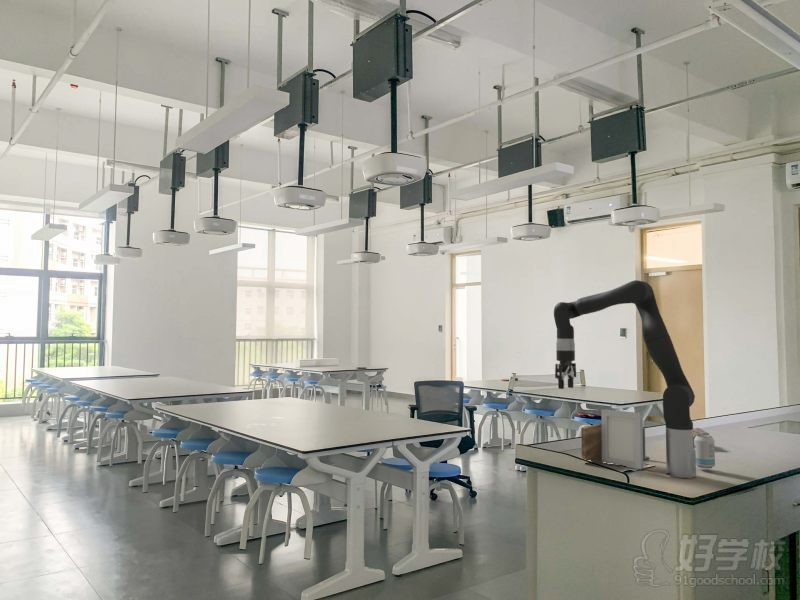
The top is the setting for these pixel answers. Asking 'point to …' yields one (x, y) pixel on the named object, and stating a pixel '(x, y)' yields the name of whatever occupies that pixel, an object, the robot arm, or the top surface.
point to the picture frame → (622, 438)
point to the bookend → (644, 445)
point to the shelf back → (592, 442)
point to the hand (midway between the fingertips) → (566, 388)
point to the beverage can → (704, 451)
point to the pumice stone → (698, 431)
